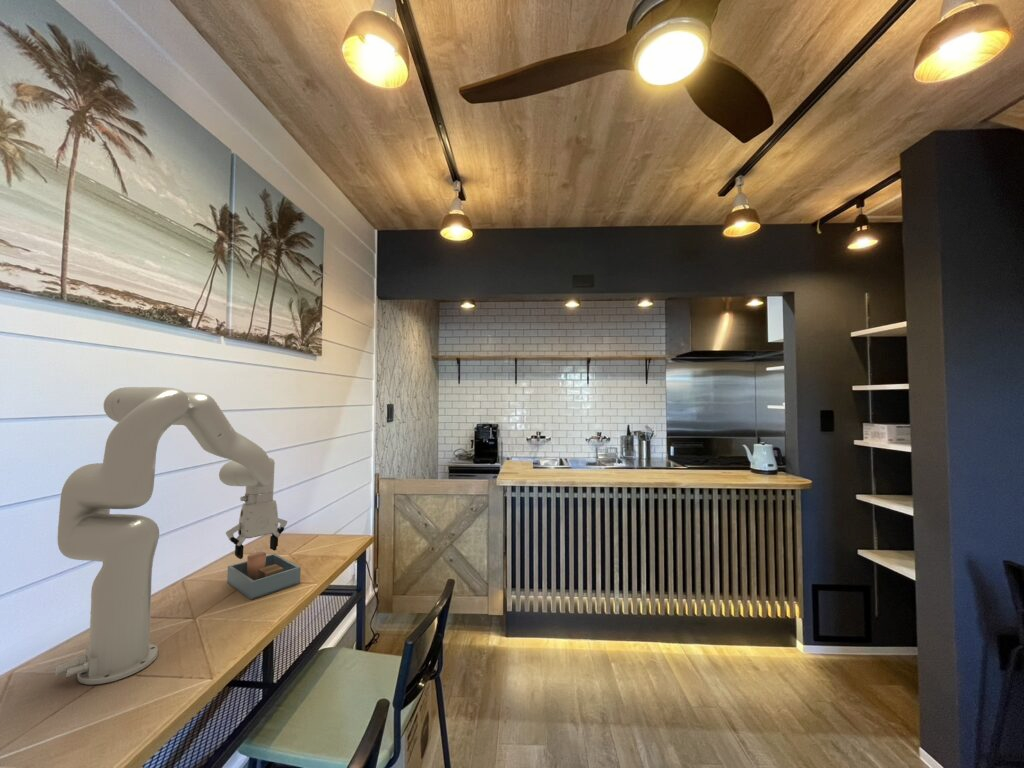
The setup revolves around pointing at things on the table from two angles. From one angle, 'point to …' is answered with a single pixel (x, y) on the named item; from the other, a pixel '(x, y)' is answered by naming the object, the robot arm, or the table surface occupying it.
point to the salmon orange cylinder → (255, 564)
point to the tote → (267, 584)
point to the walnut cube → (269, 571)
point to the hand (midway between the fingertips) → (256, 553)
